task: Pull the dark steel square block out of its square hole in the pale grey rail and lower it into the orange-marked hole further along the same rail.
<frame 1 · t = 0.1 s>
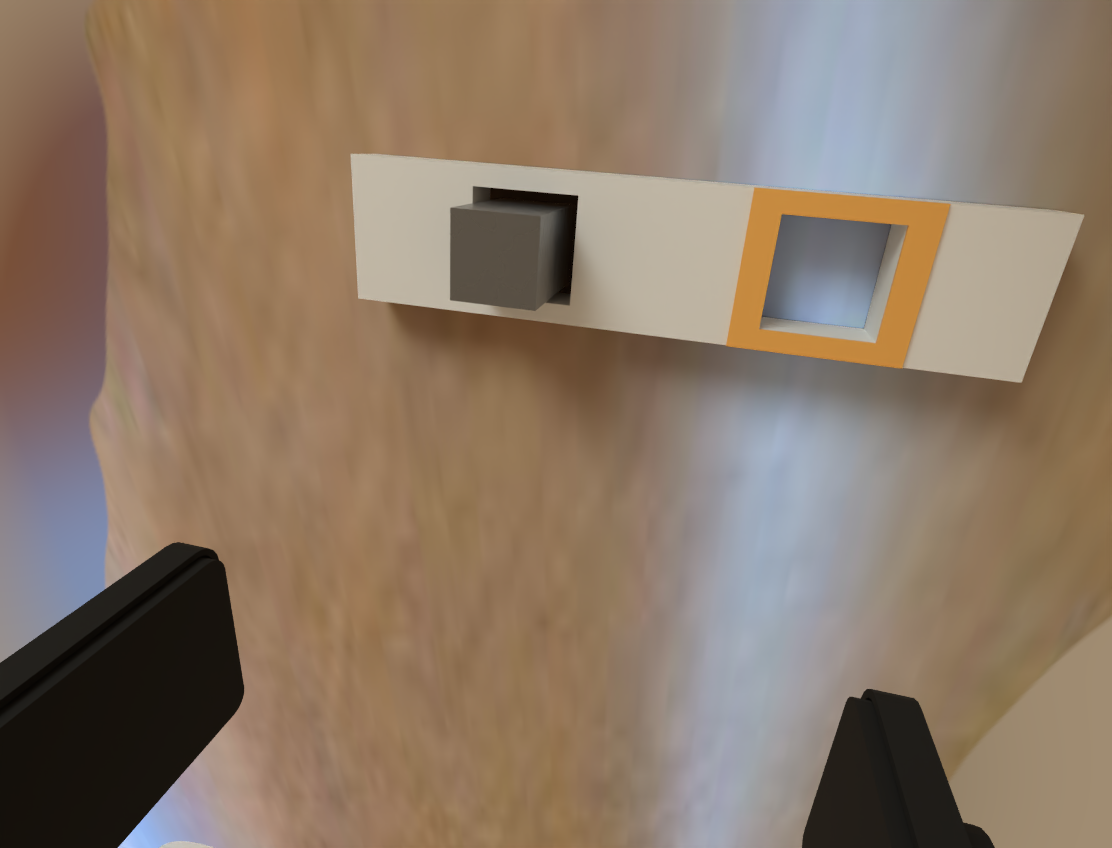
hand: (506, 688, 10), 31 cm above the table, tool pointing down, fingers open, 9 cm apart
steel block: (536, 240, 38), resting in rail
rail: (672, 254, 37), on the table
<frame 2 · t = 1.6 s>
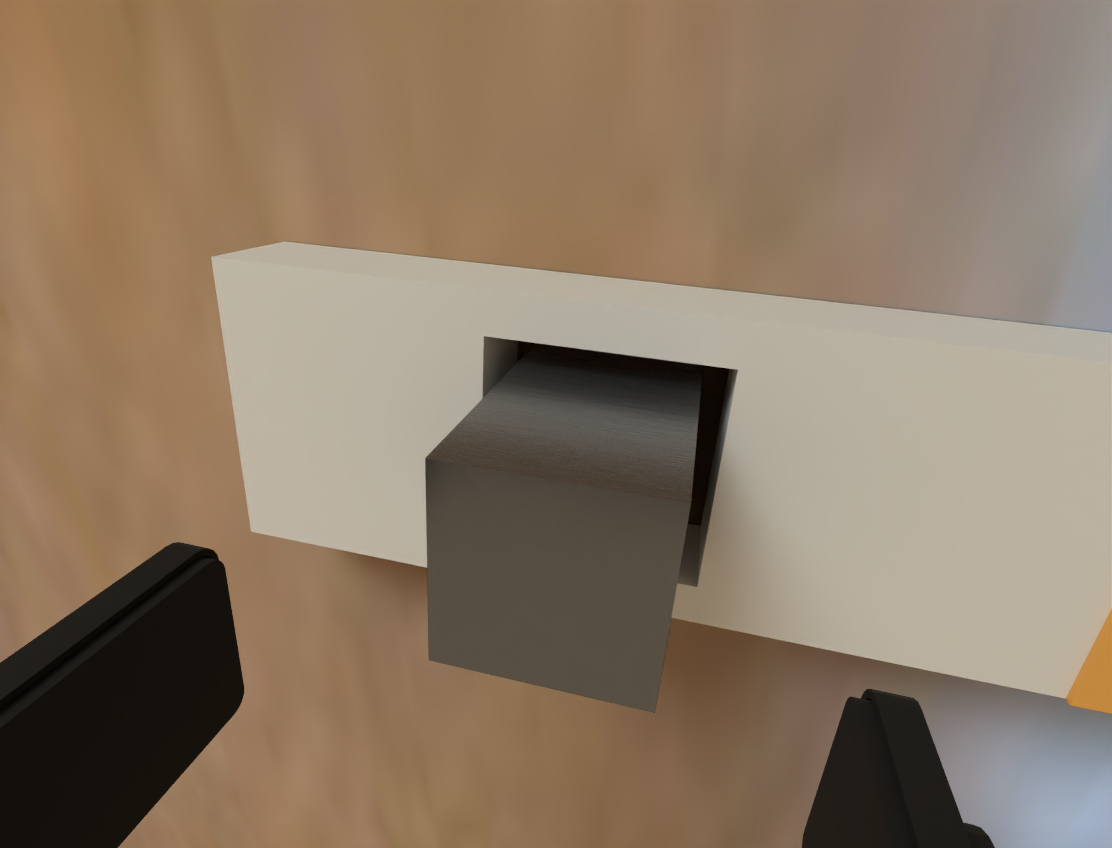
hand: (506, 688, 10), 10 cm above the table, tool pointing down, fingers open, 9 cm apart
steel block: (613, 420, 18), resting in rail
rail: (915, 466, 17), on the table
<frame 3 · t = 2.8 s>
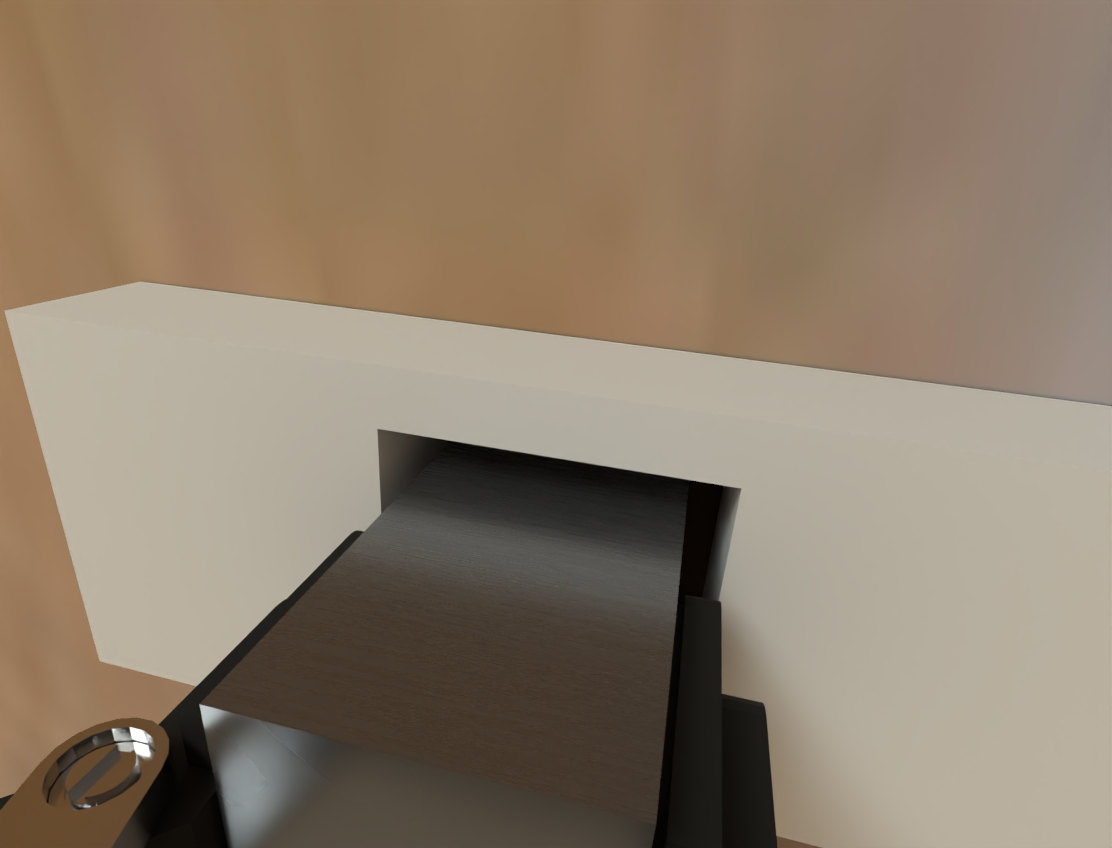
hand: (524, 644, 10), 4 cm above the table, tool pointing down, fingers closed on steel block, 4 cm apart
steel block: (573, 521, 14), resting in rail, touching gripper
rail: (982, 594, 12), on the table
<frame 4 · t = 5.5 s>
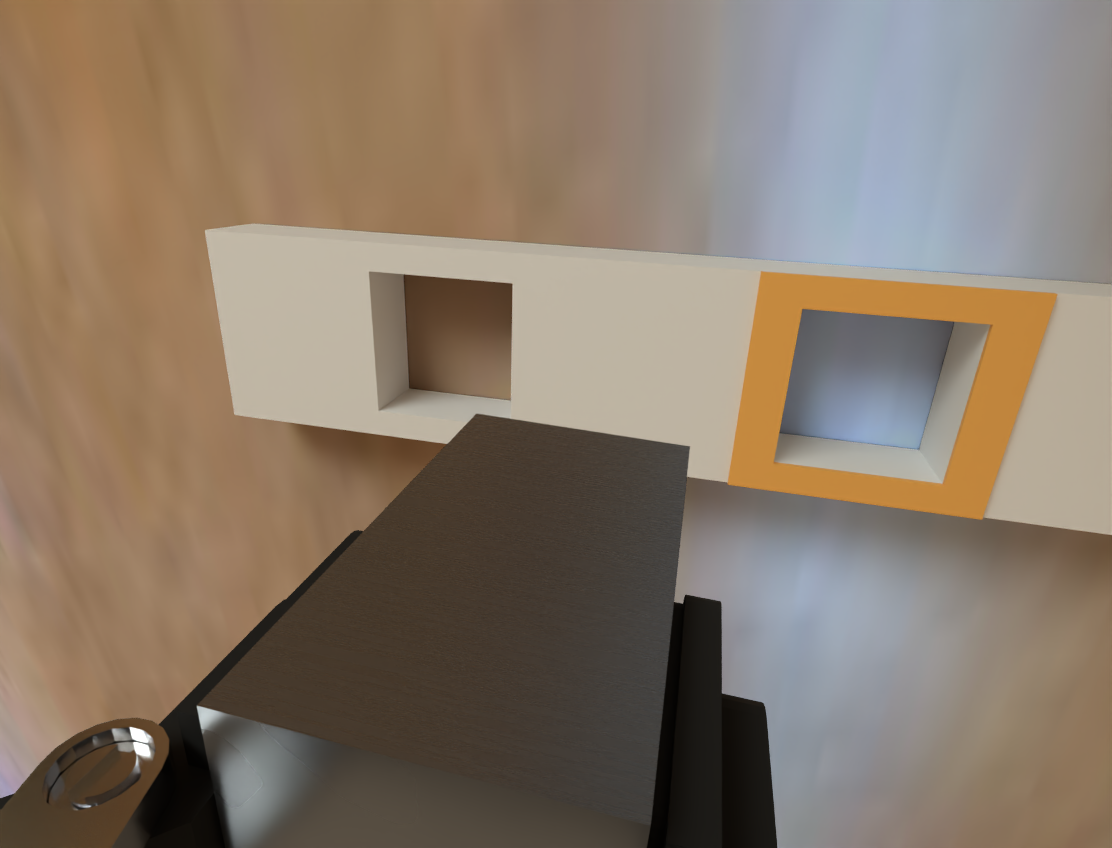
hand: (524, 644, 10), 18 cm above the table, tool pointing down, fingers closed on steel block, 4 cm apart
steel block: (571, 522, 14), point 14 cm above the table, touching gripper
rail: (651, 351, 27), on the table
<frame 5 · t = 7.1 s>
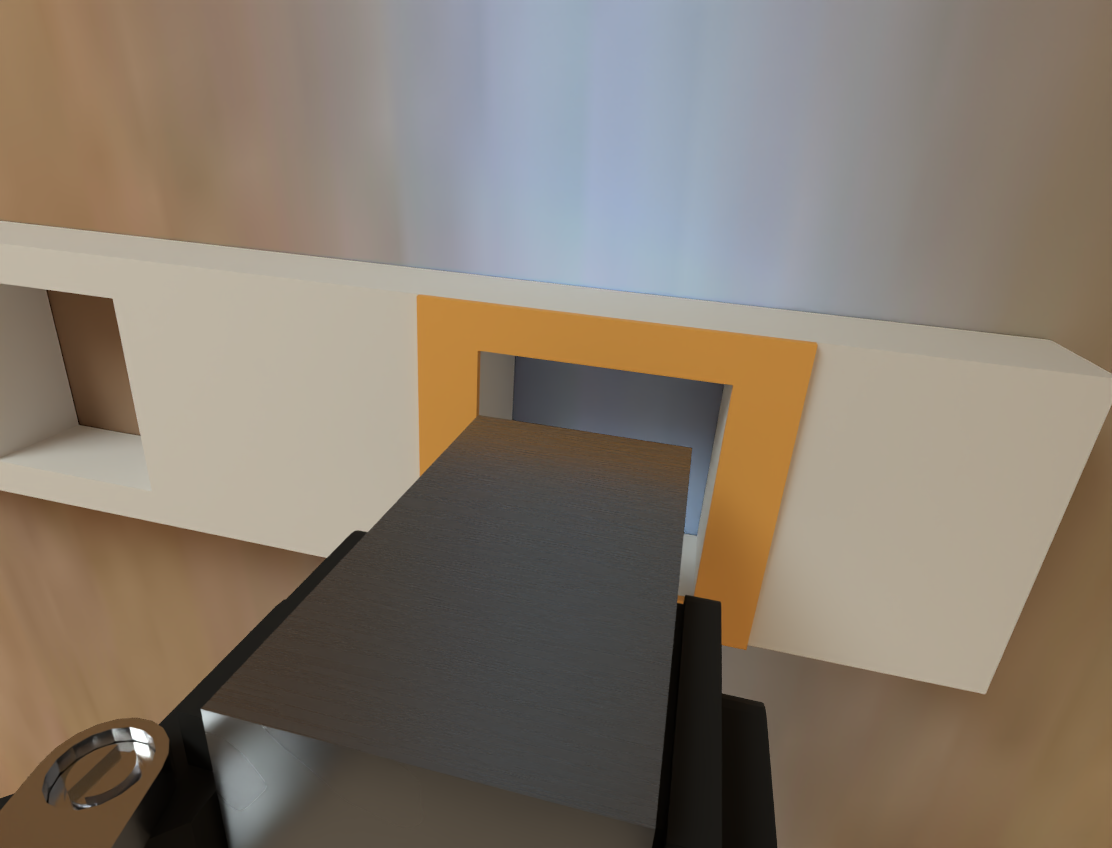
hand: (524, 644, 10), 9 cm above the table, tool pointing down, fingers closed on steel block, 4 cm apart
steel block: (573, 524, 14), point 5 cm above the table, touching gripper
rail: (353, 391, 20), on the table
when the fingers open (5 cm above the table, at t = 8.3 s): steel block stays where it is, resting in rail.
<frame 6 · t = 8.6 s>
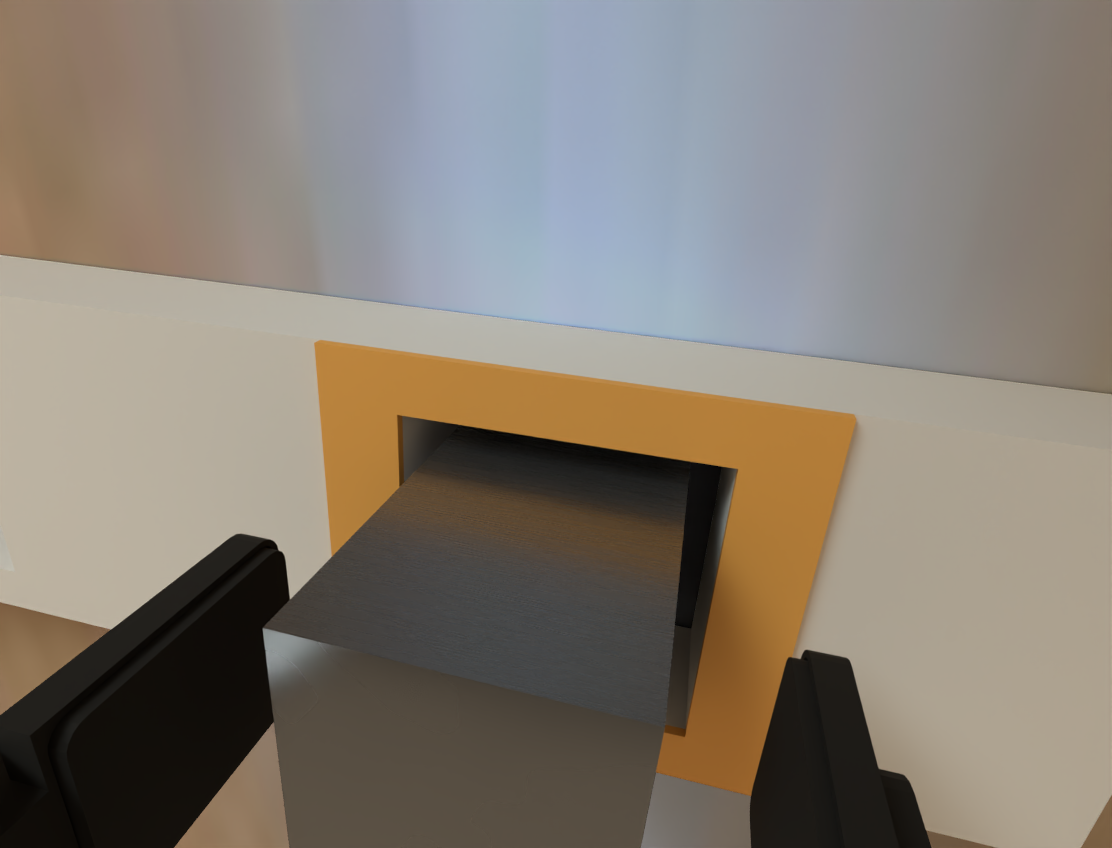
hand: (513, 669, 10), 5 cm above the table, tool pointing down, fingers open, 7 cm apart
steel block: (580, 496, 15), resting in rail
rail: (269, 446, 16), on the table
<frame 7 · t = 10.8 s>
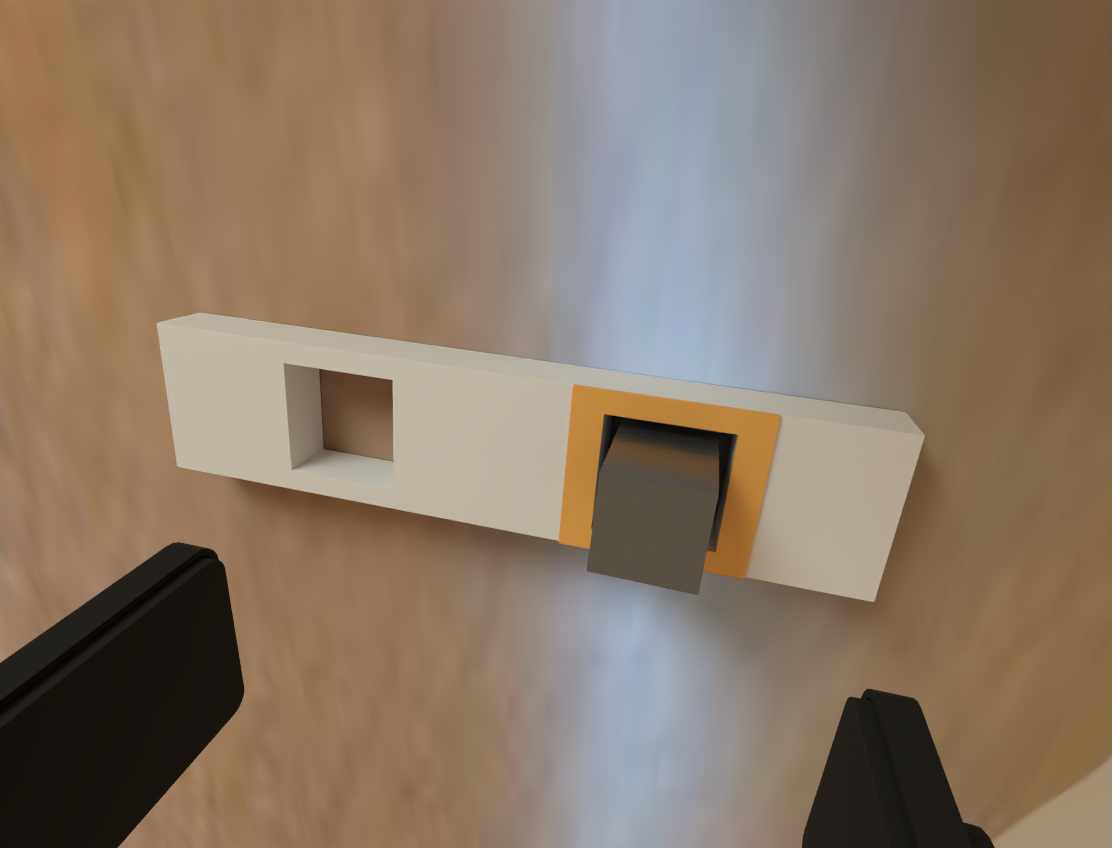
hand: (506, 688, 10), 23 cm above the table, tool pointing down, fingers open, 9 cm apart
steel block: (665, 455, 32), resting in rail
rail: (511, 431, 33), on the table
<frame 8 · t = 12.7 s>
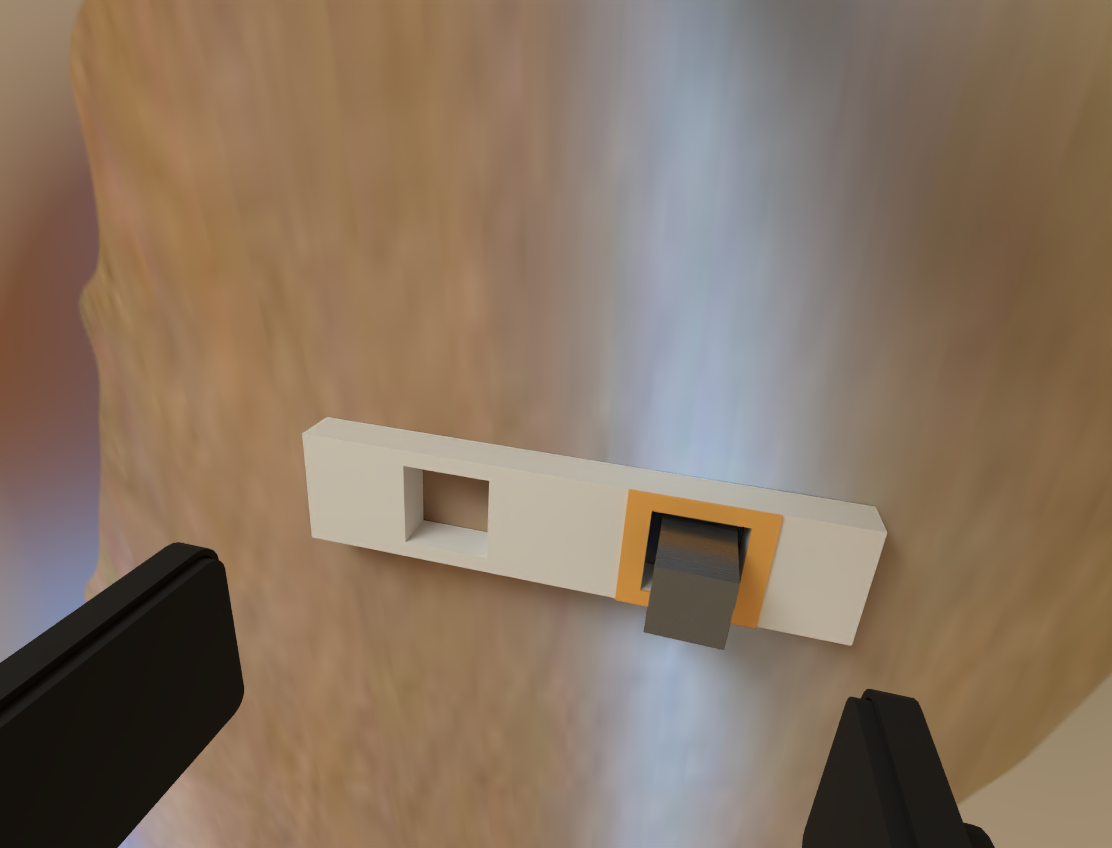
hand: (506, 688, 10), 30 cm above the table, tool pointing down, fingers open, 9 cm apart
steel block: (695, 531, 42), resting in rail
rail: (574, 511, 43), on the table
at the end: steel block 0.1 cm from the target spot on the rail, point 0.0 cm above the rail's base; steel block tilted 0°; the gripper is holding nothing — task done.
